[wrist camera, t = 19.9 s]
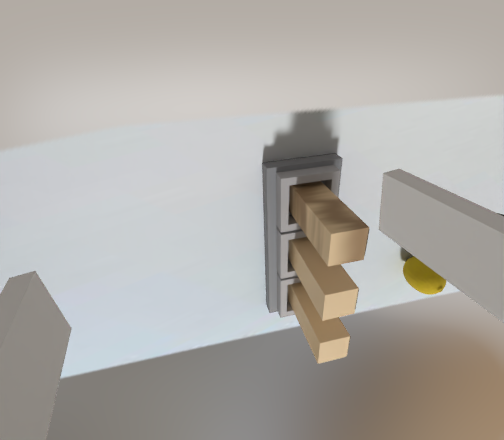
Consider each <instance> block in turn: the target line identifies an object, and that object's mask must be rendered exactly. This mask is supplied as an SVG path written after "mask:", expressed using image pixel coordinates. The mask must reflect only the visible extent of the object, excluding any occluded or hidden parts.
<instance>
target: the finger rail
mask: <svg viewBox="0 0 504 440" xmlns="http://www.w3.org/2000/svg"><path fill="white" fill-rule="evenodd" d="M341 167H342V158H341V157H340V156H338V155H337V154H336V153H334V154H327V155H319V156H311V157H304V158H296V159H288V160H281V161H273V162H265V163H262V169H263V203H264V237H265V272H266V304H267V307H268V310H269V312H270V313H272V312H276V311H278V312H279V315H280V317H286V316H290V315H296V317H297V319H298V322H299V324H300V326H301V328H302V330H303V332H304V335H305V337H306V339H307V341H308V343H309V345H310V347H311V350H312V352H313V354H314V356H315V358H316V360H317V363H318V364H319V363H323V362H327V361H331V360H335V359H339V358H343V357H346V356H347V353H348V348H349V342H350V335H349V333H348V332H347V330H346V328H345V327H344V325H343V324H342V322H341V320H340V319H339V317H341V316H346V315H350V314H354V312H355V308H356V303H357V297H358V291H359V288H358V287H357V286H356V284H355V283H354V282H353V280H352V279H351V278H350V276H349V275H348V274H347V272H346V271H345V270H344V268H343V267H342V266H341V264H339V265H334V266H329V267H328V266H327V265H326V263H325V262H324V260H323V259H322V257H321V256H320V255H319V253H318V252H317V250H316V249H315V247H314V246H313V245H312V243H311V242H310V240H309V239H308V237H307V236H306V235H305V233H304V232H303V230H302V229H301V227H300V226H299V224H298V223H297V222H296V220H295V219H294V217H293V216H292V214H291V213H290V212H289V192H290V185H296V184H303V183H310V182H316V181H321V182H322V183H323V184H324V185H325V186H326V187H327V188H328V189H330V190H331V191H332V192H333V193H334V194H335V195H336V196H337V197H338V195H339V186H340V176H341Z"/></svg>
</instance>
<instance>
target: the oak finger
mask: <svg viewBox="0 0 504 440" xmlns="http://www.w3.org/2000/svg"><path fill="white" fill-rule="evenodd" d="M289 212H290V213H291V214H292V216H293V217H294V219H295V220H296V222H297V223H298V224H299V226H300V227H301V229H302V230H303V232H304V233H305V235H306V236H307V237H308V239H309V240H310V242H311V243H312V245H313V246H314V247H315V249H316V250H317V252H318V253H319V255H320V256H321V257H322V259H323V260H324V262H325V263H326V265H327V266H328V267H329V266H334V265H339V264H344V263H349V262H354V261H359V260H364V255H365V251H366V245H367V240H368V234H369V227H368V226H367V225H366V224H365V223H364V222H363V221H362V220H361V219H360V218H359V217H358V216H357V215H356V214H355V213H354V212H353V211H352V210H350V209H349V208H348V207H347V206H346V205H345V204H344V203H343V202H342V201H341V200H340V199H339V198H338V197H337V196H336V195H335V194H334V193H333V192H332V191H331V190H330V189H328V188H327V187H326V186H325V185H324V184H323V183H322V182H321V181H316V182H310V183H303V184H296V185H290V192H289Z"/></svg>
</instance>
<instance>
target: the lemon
mask: <svg viewBox="0 0 504 440" xmlns="http://www.w3.org/2000/svg"><path fill="white" fill-rule="evenodd" d="M403 274H404V277H405V279H406V280H407V282H408V283H409V284H410V285H411V286H412V287H413V288H414V289H416V290H417V291H419V292H421V293H424V294H436V293H438V292H441V291H442V290H443V288H444V287H445V285H446V280H445V279H444V278H443V277H441V276H440V275H439V274H437V273H436V272H435V271H433V270H432V269H431V268H429V267H428V266H427V265H425V264H424V263H423V262H421V261H420V260H419V259H417V258H416V257H415V256H413V257H411V258H409V259H407V261H406V262H405V264H404V267H403Z"/></svg>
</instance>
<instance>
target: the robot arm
mask: <svg viewBox="0 0 504 440" xmlns="http://www.w3.org/2000/svg"><path fill="white" fill-rule="evenodd" d="M379 230H380V231H381V232H382V233H384V234H385V235H386V236H388V237H389V238H390V239H392V240H393V241H394V242H396V243H397V244H398V245H400V246H401V247H402V248H404V249H405V250H406V251H408V252H409V253H410V254H412V255H413V256H415V257H416V258H417V259H419V260H420V261H421V262H423V263H424V264H425V265H427V266H428V267H429V268H431V269H432V270H433V271H435V272H436V273H437V274H439V275H440V276H441V277H443V278H444V279H445V280H447V281H448V282H449V283H451V284H452V285H453V286H455V287H456V288H457V289H459V290H460V291H461V292H463V293H464V294H465V295H467V296H468V297H470V298H471V299H472V300H474V301H475V302H476V303H478V304H479V305H480V306H482V307H483V308H484V309H486V310H487V311H488V312H490V313H491V314H492V315H494V316H495V317H496V318H498V319H499V320H500V321H502V322H503V323H504V215H502V214H499V213H495V212H493V211H491V210H489V209H486V208H484V207H482V206H480V205H478V204H475V203H473V202H471V201H469V200H467V199H464V198H462V197H460V196H458V195H456V194H454V193H451V192H449V191H447V190H445V189H443V188H440V187H438V186H436V185H434V184H432V183H429V182H427V181H425V180H423V179H421V178H418V177H416V176H414V175H412V174H410V173H408V172H405V171H403V170H401V169H397V170H393V171H390V172H386V173H383V183H382V196H381V208H380V221H379ZM70 332H71V327H70V325H69V324H68V322H67V321H66V319H65V317H64V316H63V314H62V313H61V311H60V310H59V308H58V306H57V305H56V303H55V302H54V300H53V298H52V297H51V295H50V294H49V292H48V290H47V289H46V287H45V286H44V284H43V283H42V281H41V279H40V278H39V276H38V275H37V273H36V271H33V272H30V273H26V274H22V275H19V276H15V277H12V278H9V280H8V282H7V283H6V285H5V287H4V289H3V291H2V292H1V294H0V440H46V437H47V433H48V429H49V424H50V420H51V415H52V411H53V407H54V402H55V398H56V394H57V389H58V385H59V380H60V376H61V372H62V367H63V363H64V359H65V354H66V350H67V345H68V341H69V337H70Z"/></svg>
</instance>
